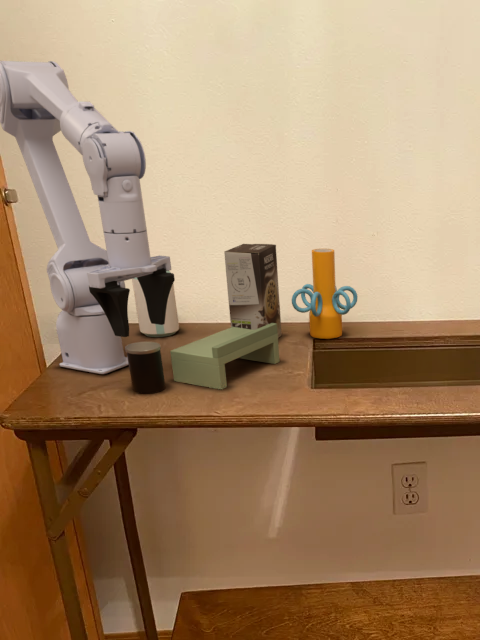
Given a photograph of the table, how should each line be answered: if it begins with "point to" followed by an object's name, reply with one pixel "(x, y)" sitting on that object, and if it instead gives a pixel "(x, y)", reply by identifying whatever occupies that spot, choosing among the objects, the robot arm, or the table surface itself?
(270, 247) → the coffee box
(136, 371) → the canister
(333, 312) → the orange and blue post
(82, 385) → the table surface
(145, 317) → the can
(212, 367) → the shelf
